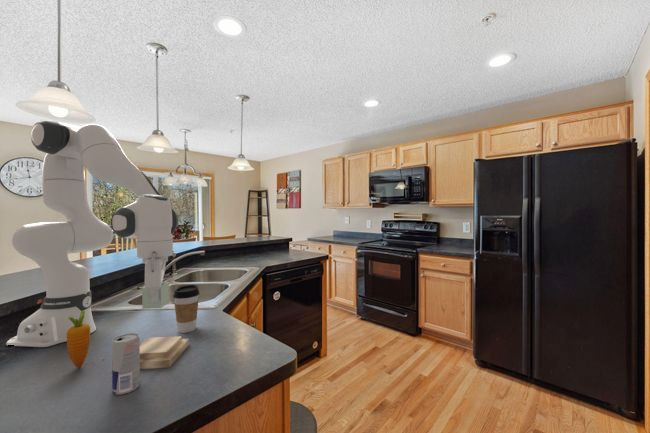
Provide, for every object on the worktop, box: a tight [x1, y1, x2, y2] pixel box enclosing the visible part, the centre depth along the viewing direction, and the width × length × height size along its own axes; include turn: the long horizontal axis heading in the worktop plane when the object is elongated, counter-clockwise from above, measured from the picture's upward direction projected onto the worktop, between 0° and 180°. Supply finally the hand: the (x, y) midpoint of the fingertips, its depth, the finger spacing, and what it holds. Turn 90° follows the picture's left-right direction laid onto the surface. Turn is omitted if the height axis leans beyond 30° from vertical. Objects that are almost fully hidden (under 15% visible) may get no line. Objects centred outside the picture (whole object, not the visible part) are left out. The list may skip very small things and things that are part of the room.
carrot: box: [66, 311, 91, 369], centre depth 75 cm, size 5×5×15 cm
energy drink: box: [111, 333, 141, 396], centre depth 66 cm, size 5×5×12 cm
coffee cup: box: [172, 284, 200, 334], centre depth 100 cm, size 8×8×15 cm
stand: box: [139, 335, 190, 370], centre depth 81 cm, size 13×13×4 cm
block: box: [141, 281, 170, 310], centre depth 81 cm, size 5×5×6 cm
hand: (155, 298), depth 81 cm, fingers closed on block, 6 cm apart
